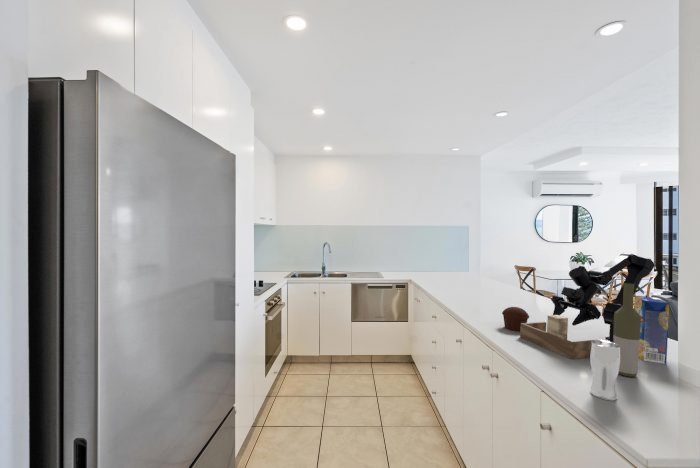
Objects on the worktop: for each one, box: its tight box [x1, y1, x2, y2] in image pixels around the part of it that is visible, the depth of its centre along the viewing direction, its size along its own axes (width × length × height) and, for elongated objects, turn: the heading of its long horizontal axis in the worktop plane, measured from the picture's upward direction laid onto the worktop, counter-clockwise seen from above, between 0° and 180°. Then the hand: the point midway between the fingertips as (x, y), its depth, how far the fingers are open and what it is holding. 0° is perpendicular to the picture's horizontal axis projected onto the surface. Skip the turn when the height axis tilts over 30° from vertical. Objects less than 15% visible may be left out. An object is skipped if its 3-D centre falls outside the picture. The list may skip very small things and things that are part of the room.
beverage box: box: [633, 295, 670, 365], centre depth 127 cm, size 7×11×22 cm, turn 155°
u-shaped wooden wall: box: [519, 321, 593, 360], centre depth 137 cm, size 13×25×6 cm, turn 16°
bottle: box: [612, 282, 641, 378], centre depth 111 cm, size 7×7×30 cm
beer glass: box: [589, 339, 620, 402], centre depth 97 cm, size 7×7×15 cm
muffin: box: [501, 306, 530, 333], centre depth 159 cm, size 12×11×10 cm
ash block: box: [546, 314, 569, 340], centre depth 137 cm, size 5×5×12 cm
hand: (562, 321), depth 138 cm, fingers open, 9 cm apart
